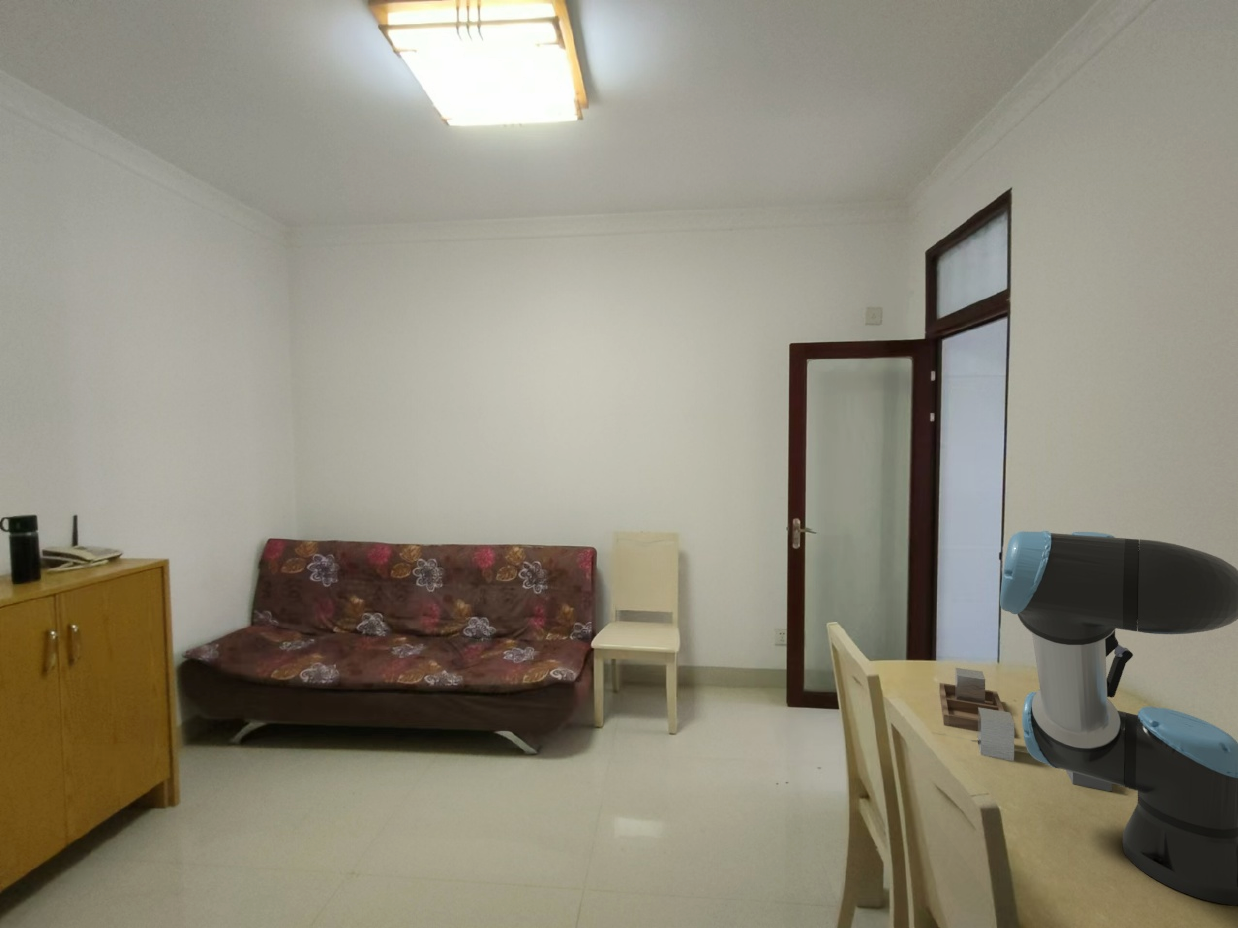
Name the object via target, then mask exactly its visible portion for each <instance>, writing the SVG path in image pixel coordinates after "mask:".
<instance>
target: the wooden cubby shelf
mask: <svg viewBox="0 0 1238 928" xmlns="http://www.w3.org/2000/svg"><path fill="white" fill-rule="evenodd" d="M938 688H939V689H938V690H939V698H940V699H939V701H940V705H941V707H940V708H941V712H942V713H941V715H942V723H943V726H946V727H951V728H957V729H961V730H962V729H963V730H968V731H973V732H978V707H979V708H985V709H991V710H997V711H1003V712H1005V709H1004V707H1003V704H1002V702H1001V699H1000V696H999V693H998V691H995V690H990V689H985V704H982V703H976V702H970V701H964V700H957V699H955V684H950V683H944V682H939V687H938Z"/></svg>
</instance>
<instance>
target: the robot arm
mask: <svg viewBox="0 0 1238 928" xmlns="http://www.w3.org/2000/svg"><path fill="white" fill-rule="evenodd" d="M1001 577H1002V579H1001V587H1000V595H999V596H1000V597H999V607H1001V609H1002V610H1003V611H1004V612H1008V613H1010V614H1013V615H1017V616H1018V620H1019V622H1020V623H1021V624H1022V626H1023V627H1024V628H1026V630H1028V632H1030V633H1031V636H1032V641H1033V649H1034V657H1035V664H1036V670H1037V677H1038V679H1037V680H1038V684H1039V689H1038V690H1037V691H1031V692H1030V693H1028V694H1027V695H1026V697H1025V699H1024V702H1023V707H1022V730H1023V738H1024V739H1023V740H1024V744H1025V747H1026V750H1027V752H1028V753H1029V755H1030V756H1031V758H1032V759H1034V760H1036V761H1038V762H1040V763H1044V764H1046V765H1048V766H1050V767H1052V768H1054V769H1061V770H1063V771H1064V770H1065V771H1066V770H1067V771H1071V772H1074V773H1078V774H1081V775H1085V776H1088V777H1092V778H1095V779H1099V780H1102V781H1106V782H1109V783H1112V784H1113V785H1117V786H1120V787H1124V788H1127V789H1130V790H1133V791H1136V792H1137V804H1136V806H1135V808H1134V810H1133V812H1132V814H1131V815H1130V817H1129V820H1128V821H1127V823H1126V825H1125V827H1124V829H1123V832H1122V851H1123V853H1124V854H1125V856H1126V857H1127V859H1128V860H1129V861H1130V862H1131V863H1132V864H1133V865H1134V866H1136V867H1137V868H1138V869H1139V870H1141V871H1142V872H1143V873H1145V874H1146V875H1148V876H1150V877H1151V878H1152V879H1154V880H1156V881H1157V882H1160V883H1161V884H1163V885H1166V886H1167V887H1169V888H1172V889H1174V890H1176V891H1179V892H1180V893H1183V894H1186V895H1189V896H1192V897H1194V898H1197V899H1201V900H1204V901H1206V902H1207V901H1208V902H1212V903H1217V904H1223V905H1232V906H1238V741H1237V740H1236V739H1235V738H1234V737H1233V736H1232V735H1231V734H1229V733H1227V732H1226V731H1224V730H1223V729H1221V728H1220V727H1218V726H1216V725H1214V724H1213V723H1210V722H1208V721H1206V720H1203V719H1201V718H1198V717H1196V716H1194V715H1190V714H1187V713H1184V712H1181V711H1178V710H1174V709H1170V708H1166V707H1156V706H1144V707H1142V708H1140V709H1139V710H1138V712H1137V714H1134V713H1129V712H1125V711H1121V710H1117V708H1116V706H1115V704H1114V703H1113V702H1112V700H1110V698H1111V699H1112V698H1114V697H1115V695H1116V693H1117V691H1118V687H1119V684H1120V682H1121V679H1122V675H1123V673H1124V670H1125V667H1126V664H1127V663H1128V662H1129V661H1130V660H1131V659H1132V658H1133V656H1134V654H1133V652H1132V651H1131V650H1129V648H1127V647H1123V646H1122V645H1120V644H1119V641H1118V640H1117V637H1116V629H1118V630H1125V631H1132V632H1138V633H1144V634H1151V635H1152V634H1154V635H1185V634H1194V633H1195V634H1196V633H1202V632H1208V631H1209V632H1210V631H1213V630H1217V629H1220V628H1224V627H1226V626H1229V625H1231V624H1233V623H1234V622H1236V621H1237V620H1238V569H1237V568H1236V567H1235V566H1234V565H1232V564H1230V563H1229V562H1227V561H1225V560H1224V559H1223V558H1220V557H1218V556H1216V555H1213V554H1210V553H1207V552H1205V551H1202V550H1197V549H1195V548H1190V547H1187V546H1183V545H1179V544H1176V543H1171V542H1170V543H1169V542H1165V541H1160V540H1152V539H1141V538H1140V539H1137V538H1125V537H1124V538H1123V537H1116V536H1114V535H1112V534H1110V533H1103V532H1095V531H1094V532H1093V531H1073V532H1071V533H1070V534H1068V533H1053V532H1050V531H1048V530H1042V531H1024V530H1023V531H1018V532H1016V533H1013V534H1012V535H1011V537H1010V538H1009V541H1008V544H1007V549H1006V553H1005V559H1004V564H1003V571H1002V576H1001ZM1113 651H1114V657H1113V659H1112V663H1111V664H1110V668H1109V671H1108V674H1107V658H1108V656H1109V655H1111V653H1112V652H1113ZM1067 771H1066V772H1067Z"/></svg>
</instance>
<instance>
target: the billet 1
mask: <svg viewBox="0 0 1238 928" xmlns="http://www.w3.org/2000/svg"><path fill="white" fill-rule="evenodd" d="M954 670H955V672H954V675H955V678H954V679H955V682H954V683H955V684H954V685H955V699H957V700H964V701H970V702H976V703H982V704H985V690H986V678H985V675H984V673H983V671H982V670H975V669H968V668H960V667H955V669H954Z"/></svg>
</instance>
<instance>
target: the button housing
mask: <svg viewBox="0 0 1238 928" xmlns="http://www.w3.org/2000/svg"><path fill="white" fill-rule="evenodd" d="M1065 771H1066V774H1067V775H1068V777H1069V779H1070V781H1071V783H1072V785H1075V786H1081V787H1086V788H1090V789H1096V790H1101V791H1106V792H1110V791H1111V792H1112V790H1113V789H1112V788H1113V787H1112V784H1113V783H1109V782H1106V781H1102V780H1099V779H1095V778H1092V777H1088V776H1085V775H1081V774H1078V773H1074V772H1071V771H1067V770H1065Z"/></svg>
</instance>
